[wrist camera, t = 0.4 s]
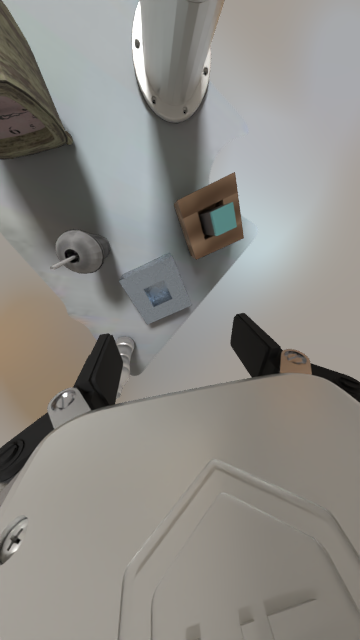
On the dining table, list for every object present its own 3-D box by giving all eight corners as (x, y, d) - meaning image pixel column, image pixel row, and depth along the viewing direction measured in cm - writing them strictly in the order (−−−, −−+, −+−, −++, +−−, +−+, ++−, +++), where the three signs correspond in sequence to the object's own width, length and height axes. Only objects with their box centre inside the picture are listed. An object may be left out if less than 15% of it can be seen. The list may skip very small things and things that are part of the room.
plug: (196, 215, 36) (211, 212, 26) (211, 208, 35) (233, 201, 26) (201, 233, 38) (216, 236, 29) (216, 226, 37) (236, 226, 28)
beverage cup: (122, 247, 38) (98, 264, 21) (104, 267, 39) (68, 298, 22) (96, 220, 34) (41, 214, 17) (77, 244, 36) (10, 260, 19)
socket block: (122, 274, 41) (118, 281, 36) (169, 252, 40) (172, 256, 35) (147, 314, 48) (147, 324, 43) (187, 296, 47) (192, 305, 42)
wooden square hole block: (173, 204, 35) (177, 200, 30) (222, 180, 34) (234, 171, 29) (190, 255, 41) (196, 259, 36) (232, 236, 40) (243, 238, 35)
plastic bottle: (111, 338, 51) (90, 393, 34) (129, 331, 51) (117, 382, 34) (121, 350, 55) (108, 406, 38) (138, 343, 54) (132, 396, 37)
